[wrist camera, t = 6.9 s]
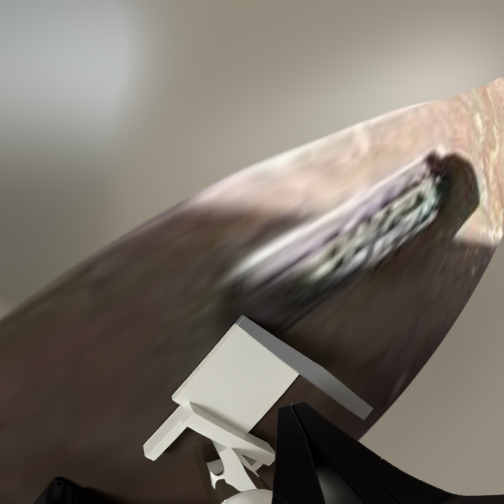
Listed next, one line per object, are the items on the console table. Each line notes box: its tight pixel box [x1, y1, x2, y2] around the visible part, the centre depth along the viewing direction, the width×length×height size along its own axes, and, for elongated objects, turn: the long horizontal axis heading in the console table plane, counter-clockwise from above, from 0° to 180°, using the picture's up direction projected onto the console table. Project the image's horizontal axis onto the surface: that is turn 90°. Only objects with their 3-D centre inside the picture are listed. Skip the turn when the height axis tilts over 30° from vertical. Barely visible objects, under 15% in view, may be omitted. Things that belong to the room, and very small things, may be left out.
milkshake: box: [193, 436, 273, 504], centre depth 17 cm, size 4×5×10 cm
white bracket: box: [143, 315, 373, 471], centre depth 18 cm, size 13×10×10 cm
